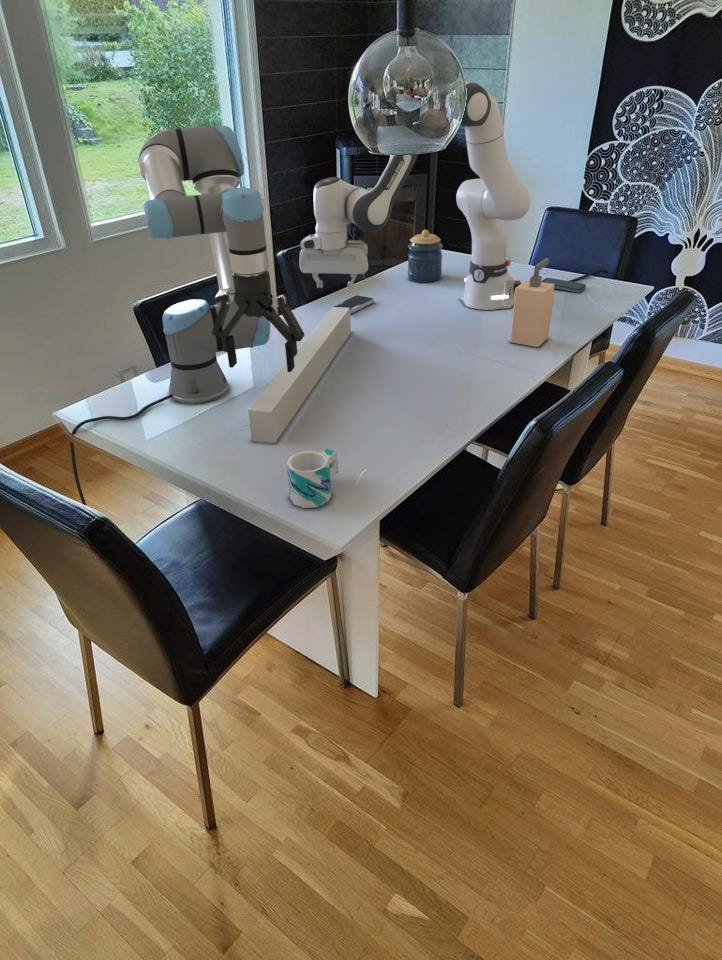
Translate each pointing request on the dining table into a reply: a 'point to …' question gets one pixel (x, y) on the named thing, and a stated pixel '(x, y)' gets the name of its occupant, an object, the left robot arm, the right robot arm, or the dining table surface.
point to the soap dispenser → (532, 309)
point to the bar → (298, 377)
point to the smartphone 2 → (565, 284)
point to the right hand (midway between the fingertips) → (335, 287)
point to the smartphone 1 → (355, 303)
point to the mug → (311, 477)
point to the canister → (425, 257)
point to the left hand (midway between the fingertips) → (262, 367)
